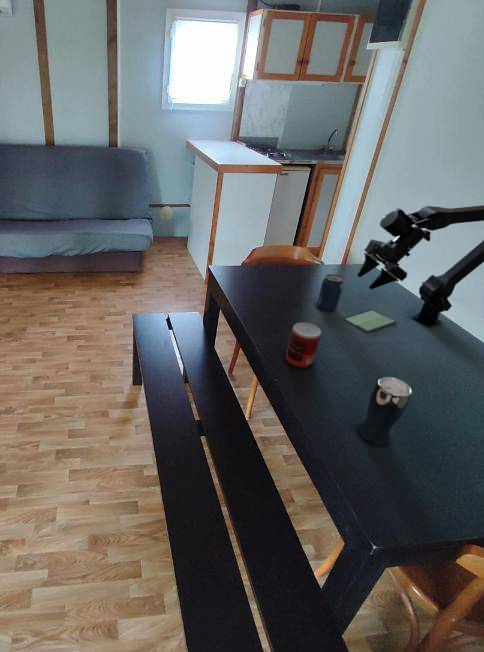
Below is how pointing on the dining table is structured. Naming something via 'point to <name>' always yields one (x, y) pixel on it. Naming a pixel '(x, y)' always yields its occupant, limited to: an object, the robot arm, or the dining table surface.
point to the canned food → (303, 345)
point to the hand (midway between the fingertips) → (364, 282)
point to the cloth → (370, 321)
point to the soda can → (330, 292)
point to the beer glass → (384, 409)
